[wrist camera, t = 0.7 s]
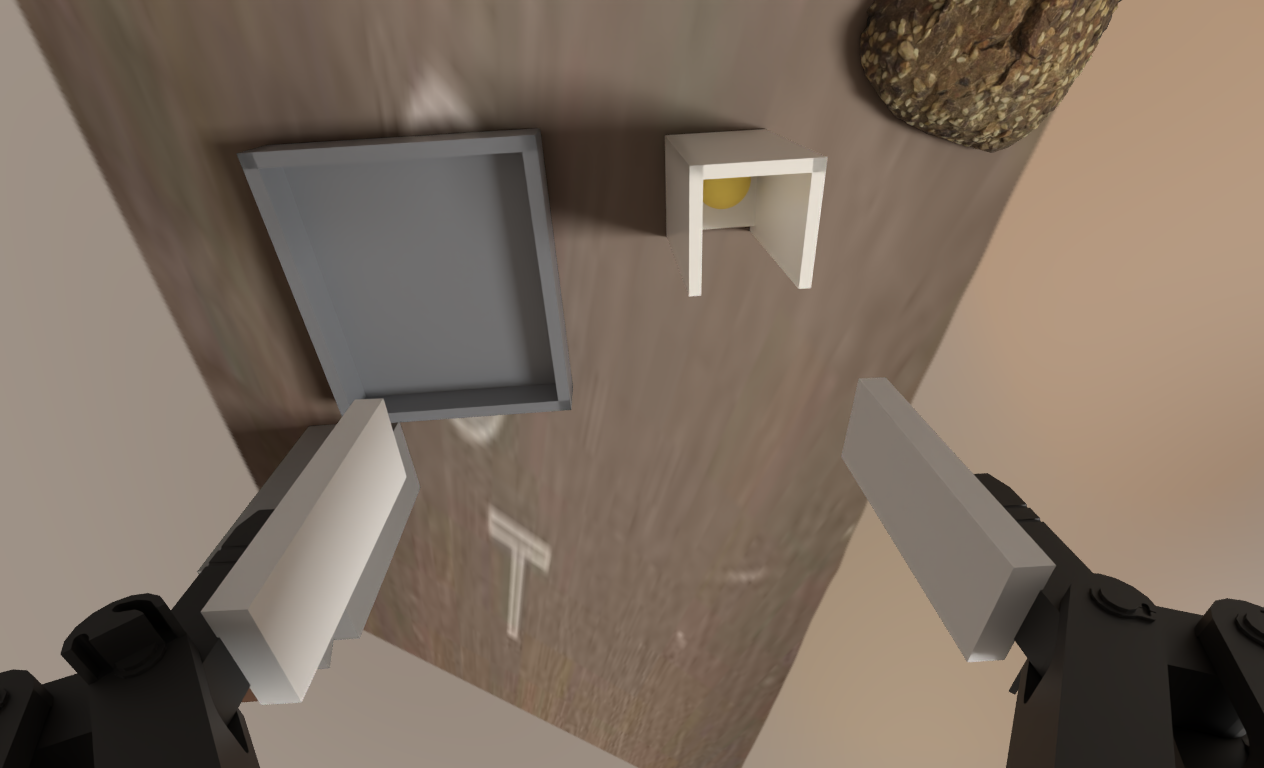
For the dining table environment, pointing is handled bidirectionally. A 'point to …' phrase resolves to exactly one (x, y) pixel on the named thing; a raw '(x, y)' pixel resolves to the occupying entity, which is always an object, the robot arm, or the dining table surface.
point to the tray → (422, 269)
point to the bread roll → (979, 62)
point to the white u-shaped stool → (771, 207)
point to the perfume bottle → (385, 543)
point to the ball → (725, 191)
